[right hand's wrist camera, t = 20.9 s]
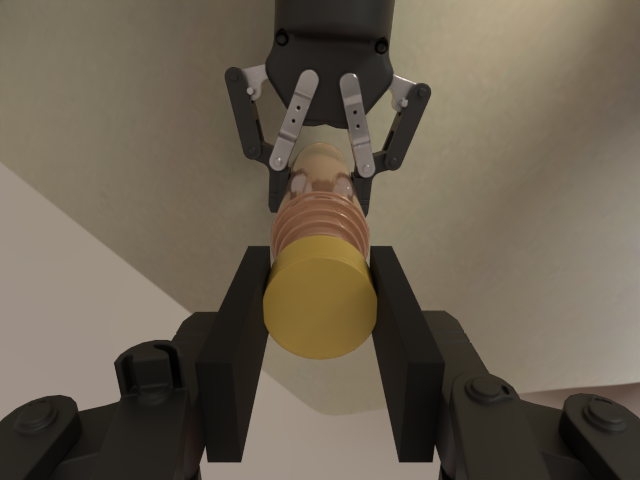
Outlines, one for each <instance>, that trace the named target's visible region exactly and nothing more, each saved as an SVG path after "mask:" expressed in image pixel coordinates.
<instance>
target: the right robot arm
mask: <svg viewBox="0 0 640 480" xmlns="http://www.w3.org/2000/svg"><path fill="white" fill-rule="evenodd" d="M369 270H370V273H371V277H372V280H373V284H374V288H375V291H376V295H377V316H376V324H375V326H374V329H373V331H372V337H373V342H374V346H375V351H376V356H377V360H378V365H379V370H380V375H381V379H382V384H383V389H384V393H385V398H386V403H387V407H388V412H389V417H390V422H391V426H392V431H393V436H394V440H395V445H396V450H397V454H398V459H399V462H433V455H434V447H435V446H436V449H437V452H438V455H439V458H440V461H441V465H440V472H439V479H438V480H640V419H639V418H638V417H637V416H636V415H635V414H633V413H632V412H631V411H629V410H628V409H627V408H626V407H624V406H622V405H620V404H618V403H616V402H614V401H612V400H610V399H607V398H604V397H601V396H597V395H594V394H582V393H580V394H575V395H571V396H569V397H568V398H567V399H566V400H565V401H564V405H563V409H562V410H560V409H556V408H551V407H547V406H542V405H538V404H534V403H530V402H527V401H524V400H521V399H520V398H519V396H518V394H517V393H516V391H515V390H514V388H513V387H512V386H511V385H509V384H508V383H507V382H506V381H504V380H503V379H501V378H499V377H496V376H494V375H492V374H489V372H488V370H487V369H486V367H485V365H484V364H483V362H482V360H481V359H480V357H479V355H478V354H477V352H476V350H475V349H474V347H473V345H472V344H471V343H470V340H469V339H468V337H467V335H466V334H464V330H463V329H462V327H461V325H460V324H459V322H458V320H456V319H455V318H454V317H452V316H451V315H450V314H448V313H447V312H446V311H421V308H420V306H419V304H418V302H417V300H416V298H415V295H414V293H413V291H412V289H411V287H410V285H409V282H408V280H407V278H406V276H405V274H404V272H403V269H402V267H401V265H400V263H399V261H398V259H397V257H396V254H395V252H394V250H393V248H392V246H371V247H370V268H369ZM270 271H271V263H270V246H248V248H247V251H246V253H245V255H244V257H243V259H242V261H241V264H240V266H239V268H238V270H237V272H236V274H235V277H234V279H233V281H232V283H231V285H230V287H229V290H228V292H227V294H226V296H225V298H224V300H223V303H222V305H221V307H220V309H219V311H218V312H195V313H194V314H192V315H191V316H190V317H188V318H187V319H186V320H184V321H183V322H182V324H181V326H180V328H179V329H178V331H177V333H176V335H175V336H174V338H173V339H172V341H169V340H153V341H148V342H143V343H141V344H138V345H136V346H134V347H131V348H129V349H128V350H126V351H125V352H124V353H122V354H121V355H120V356H119V357H118V358H117V360H116V361H115V362H114V365H115V370H116V375H117V379H118V384H119V388H120V393H121V398H120V401H119V402H116V403H112V404H109V405H106V406H101V407H97V408H92V409H88V410H83V411H78V408H77V404H76V402H75V401H74V400H73V399H72V398H71V397H67V396H62V395H55V396H46V397H42V398H39V399H36V400H33V401H30V402H28V403H26V404H24V405H22V406H20V407H18V408H16V409H15V410H14V411H13V412H11V413H10V414H9V415H7V416H6V417H5V418H3V419H2V420H1V421H0V480H201V472H200V465H199V464H200V461H201V458H202V455H203V452H204V449H205V445H206V453H207V460H208V462H241V460H242V456H243V451H244V446H245V442H246V437H247V432H248V427H249V423H250V418H251V413H252V409H253V404H254V399H255V394H256V389H257V385H258V380H259V376H260V371H261V366H262V362H263V357H264V352H265V347H266V343H267V338H268V333H269V332H268V330H267V328H266V326H265V323H264V311H263V296H264V293H265V289H266V285H267V282H268V278H269V274H270Z"/></svg>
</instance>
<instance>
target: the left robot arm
mask: <svg viewBox="0 0 640 480" xmlns="http://www.w3.org/2000/svg"><path fill="white" fill-rule="evenodd" d="M394 3H395V0H275V24H274V43H273V47H272V50H271V52H270V54H269V56H268V57H267V59H266V63H265V64H263V65H258V66H253V67H248V68H244V69H239V68H236V67H231V68H229V69H228V70H227V71H226V73H225V80H226V84H227V88H228V92H229V96H230V100H231V104H232V108H233V112H234V116H235V120H236V124H237V128H238V132H239V135H240V139H241V143H242V147H243V151H244V154H245V156H246V157H247V158H249V159H255V160H257V161H259V162H261V163H263V164H265V165H266V166H267V167H268V169H269V172H270V178H269V208H270V211H271V212H274V213H277V212H278V209H279V206H280V203H281V200H282V198H283V195H284V192H285V189H286V186H287V183H288V181H289V178H290V175H291V167H288V161H289V158H290V155H291V153H292V150H293V147H294V145H295V142H296V140H297V137H298V135H299V132H300V130H301V127H302V125H303V126H318V125H323V124H327V125H330V126H332V127H335V128H341V129H347V131H348V136H349V140H350V143H351V148H352V152H353V157H354V161H355V168H354V172H351V180H352V182H353V185H354V188H355V191H356V194H357V196H358V199H359V202H360V205H361V208H362V210H363V213H364V216H365V218H366V216H367V214H368V209H369V200H370V193H371V184H372V179H373V177H374V176H375V175H376V174H377V173H380V172H383V171H387V170H391V171H394V170H397V169H398V168H399V167H400V166H401V164H402V162H403V159H404V157H405V155H406V152H407V150H408V147H409V145H410V143H411V140H412V138H413V136H414V133H415V131H416V129H417V126H418V124H419V122H420V119H421V117H422V115H423V112H424V110H425V107H426V105H427V103H428V100H429V98H430V96H431V89H430V87H429V86H428V85H427V84H424V83H414V82H411V81H409V80H406V79H404V78H401V77H398V76H396V75H394V72H393V68H392V65H391V63H390V59H389V44H390V36H391V28H392V20H393V11H394ZM268 79H269V81H270V82H271V84H272V85H273V87H274V89H275V90H276V92H277V94H278V95H279V97H280V99H281V100H282V102H283V103H284V105H285V107H286V108H287V110H288V111H287V113H286V116H285V119H284V121H283V124H282V126H281V129H280V132H279V135H278V138H277V141H276V144H275V146H273V145H271V144H269V143H266V142H265V141H264V137H263V133H262V129H261V124H260V120H259V116H258V112H257V107H256V103H255V100H258V99H259V98H260V97H261V96H262V93H263V90H262V87H263V84H264V82H265V81H266V80H268ZM387 90H390V91H391V93H392V102H391V105H392V108H393V109H394V110H395V111H397V114H396V116H395V119H394V121H393V124H392V126H391V129H390V131H389V134H388V136H387V138H386V141H385V143H384V146H383V148H382V151H379V152H376V153H372V150H371V145H370V136H369V132H368V127H367V122H366V117H365V115H366V114H367V113H368V112H369V111H370V110H371V108H372V107H373V106H374V105H375V104H376V103H377V101H378V100H379V99H380V98H381V97H382V95H383V94H384V93H385V92H386V91H387Z"/></svg>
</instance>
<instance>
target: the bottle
mask: <svg viewBox="0 0 640 480" xmlns="http://www.w3.org/2000/svg"><path fill="white" fill-rule="evenodd" d="M313 235H327V236H332V237H336V238H339V239H342V240H344V241H346V242H348V243H349V244H351V245H352V246H354V247H355V248H356V249H357V250H358V251H359V252H360V253H361V254H362V256H363V257H364V259H365V260H366V258H367V255H368V250H369V229H368V225H367V222H366V219H365V216H364V213H363V210H362V208H361V205H360V202H359V199H358V196H357V194H356V191H355V188H354V185H353V182H352V180H351V177H350V174H349V171H348V168H347V165H346V163H345V160H344V158H343V156H342V154H341V153H340V152H339V151H338V150H337V149H336V148H335V147H333V146H332V145H329V144H326V143H315V144H311V145H309V146H307V147H305V148H304V149H303V150H302V151H301V152H300V153H299V155H298V156H297V158H296V161H295V164H294V167H293V169H292V172H291V175H290V178H289V181H288V183H287V186H286V189H285V192H284V195H283V198H282V200H281V203H280V206H279V209H278V212H277V214H276V217H275V220H274V223H273V226H272V231H271V247H272V254H273V257H274V260H275V259H276V257H277V256H278V255H279V253H280V252H281V251H282V250H283V249H284V248H285V247H287V246H288V245H289V244H291V243H293V242H294V241H296V240H299V239H301V238H304V237H308V236H313Z"/></svg>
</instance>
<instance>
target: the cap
mask: <svg viewBox="0 0 640 480" xmlns="http://www.w3.org/2000/svg"><path fill="white" fill-rule="evenodd" d="M263 311H264V323H265V326H266V328H267V330H268V332H269V333H270V335H271V336H272V337H273V339H274V340H275V341H276V342H277V343H278V344H279V345H280V346H282V347H283V348H284V349H286V350H287V351H289V352H291V353H293V354H296V355H298V356H301V357H304V358H310V359H331V358H336V357H339V356H342V355H345V354H347V353H349V352H351V351H353V350H355V349H356V348H357V347H359V346H360V345H361V344H362V343H363V342H364V341H365V340H366V339H367V338H368V337H369V335H370V334H371V332H372V331H373V329H374V326H375V324H376V316H377V295H376V291H375V288H374V284H373V280H372V277H371V273H370V270H369V267H368V264H367V262H366V260H365V259H364V257H363V256H362V254H361V253H360V252H359V251H358V250H357V249H356V248H355V247H354V246H352V245H351V244H349V243H348V242H346V241H344V240H342V239H339V238H336V237H332V236H327V235H313V236H308V237H304V238H301V239H299V240H296V241H294V242H293V243H291V244H289V245H288V246H287V247H285V248H284V249H283V250H282V251H281V252H280V253H279V255H278V256H277V257H276V259H275V261H274V263H273V265H272V268H271V271H270V274H269V278H268V282H267V285H266V289H265V293H264V296H263Z"/></svg>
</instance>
